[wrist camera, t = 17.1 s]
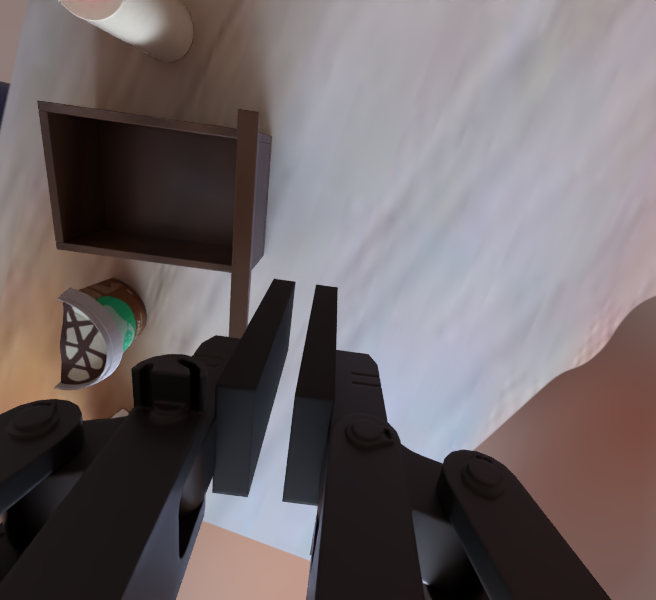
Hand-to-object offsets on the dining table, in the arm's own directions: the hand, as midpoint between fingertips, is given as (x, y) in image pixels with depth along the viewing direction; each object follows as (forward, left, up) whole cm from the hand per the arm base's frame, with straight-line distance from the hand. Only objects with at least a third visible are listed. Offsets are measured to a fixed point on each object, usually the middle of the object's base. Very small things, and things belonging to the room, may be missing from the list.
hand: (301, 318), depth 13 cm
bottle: (-19, +16, -32) cm, 41 cm away
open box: (-17, 0, -32) cm, 37 cm away
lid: (-6, 0, -14) cm, 15 cm away
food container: (-24, -18, -33) cm, 44 cm away
